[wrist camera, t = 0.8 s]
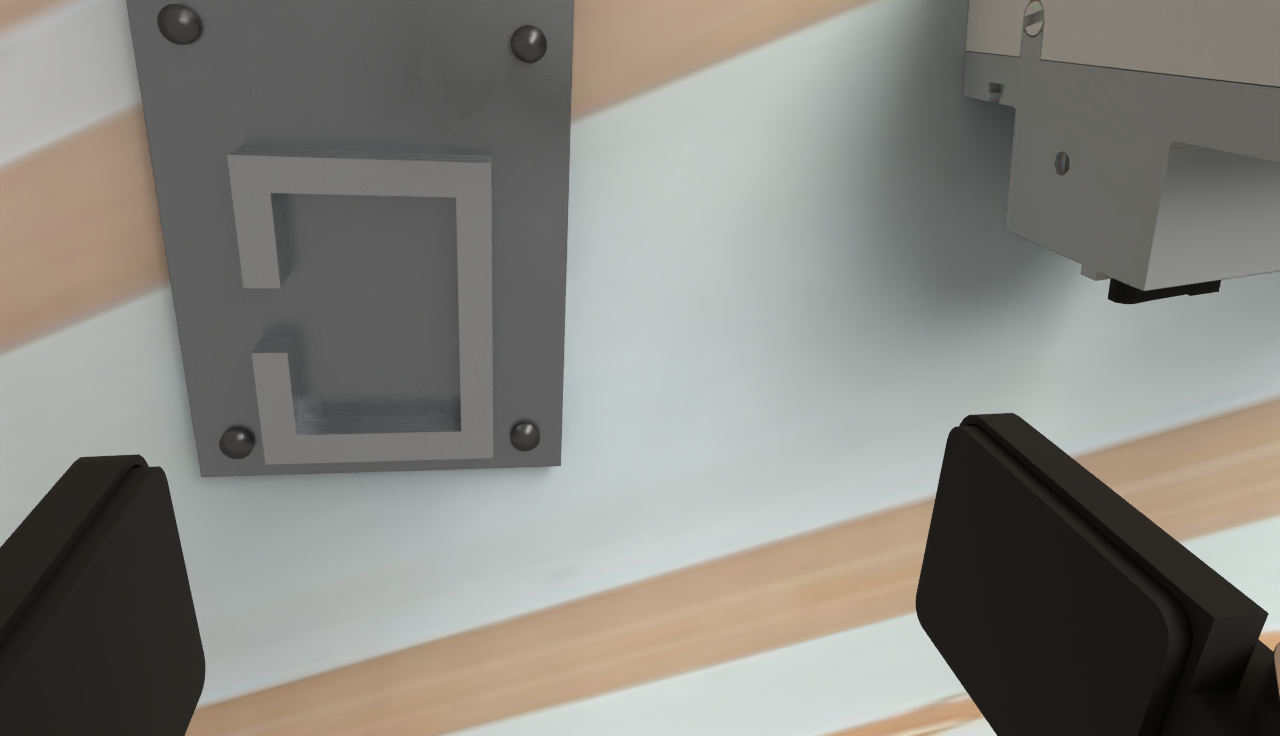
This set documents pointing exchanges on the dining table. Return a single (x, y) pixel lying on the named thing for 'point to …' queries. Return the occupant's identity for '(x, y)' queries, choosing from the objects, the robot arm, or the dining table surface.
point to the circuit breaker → (1139, 134)
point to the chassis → (364, 227)
